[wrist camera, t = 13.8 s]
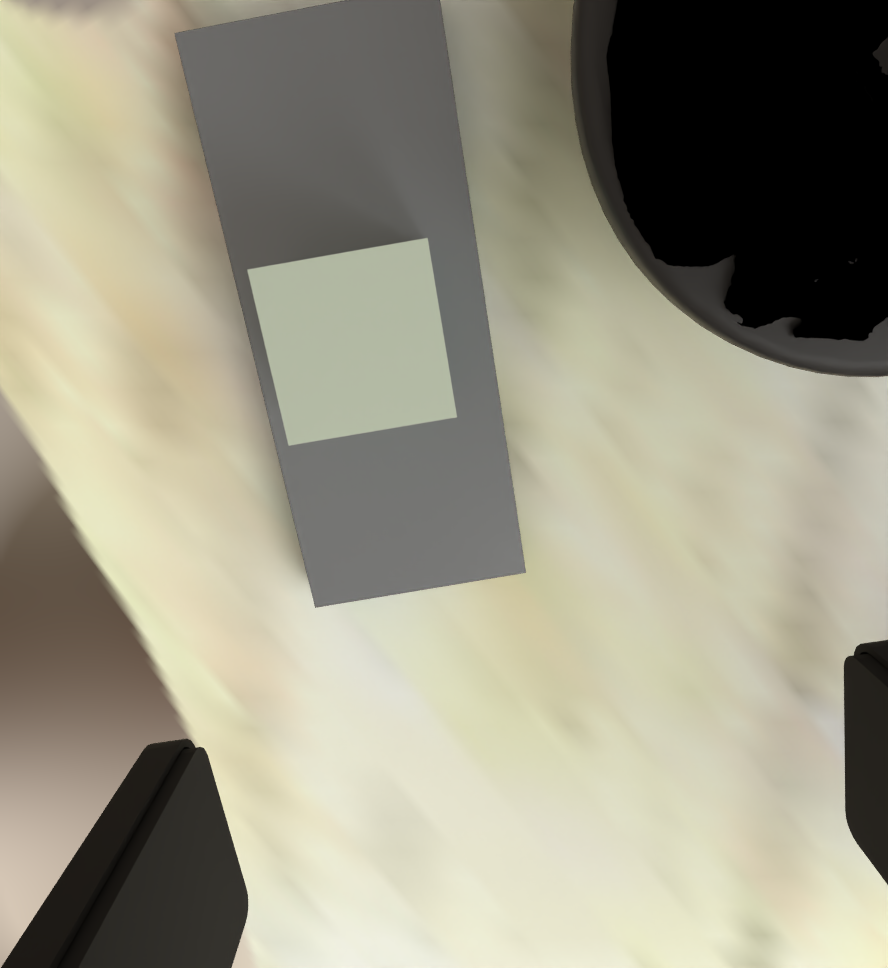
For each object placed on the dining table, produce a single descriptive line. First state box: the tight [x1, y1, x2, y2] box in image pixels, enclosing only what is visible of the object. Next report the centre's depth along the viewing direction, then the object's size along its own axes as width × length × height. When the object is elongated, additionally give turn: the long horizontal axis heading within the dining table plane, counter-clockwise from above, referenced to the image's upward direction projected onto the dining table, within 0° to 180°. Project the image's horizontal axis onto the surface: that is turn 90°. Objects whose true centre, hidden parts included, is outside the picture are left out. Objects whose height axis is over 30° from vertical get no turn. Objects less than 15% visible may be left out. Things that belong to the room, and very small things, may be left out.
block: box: [247, 238, 457, 446], centre depth 27 cm, size 6×6×6 cm
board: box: [175, 0, 526, 608], centre depth 31 cm, size 10×24×2 cm, turn 10°
